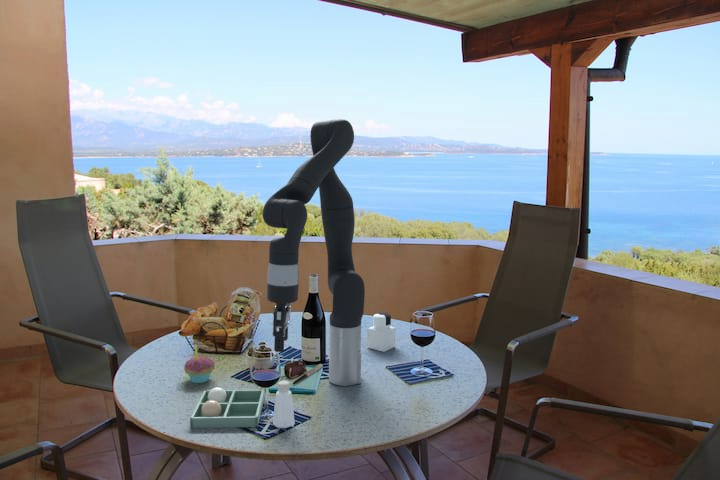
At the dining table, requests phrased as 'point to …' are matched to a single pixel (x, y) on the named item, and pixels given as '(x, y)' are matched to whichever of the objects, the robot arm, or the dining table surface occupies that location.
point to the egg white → (217, 395)
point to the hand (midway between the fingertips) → (281, 345)
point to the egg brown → (211, 409)
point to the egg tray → (231, 410)
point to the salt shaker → (283, 406)
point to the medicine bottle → (381, 333)
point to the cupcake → (199, 368)
